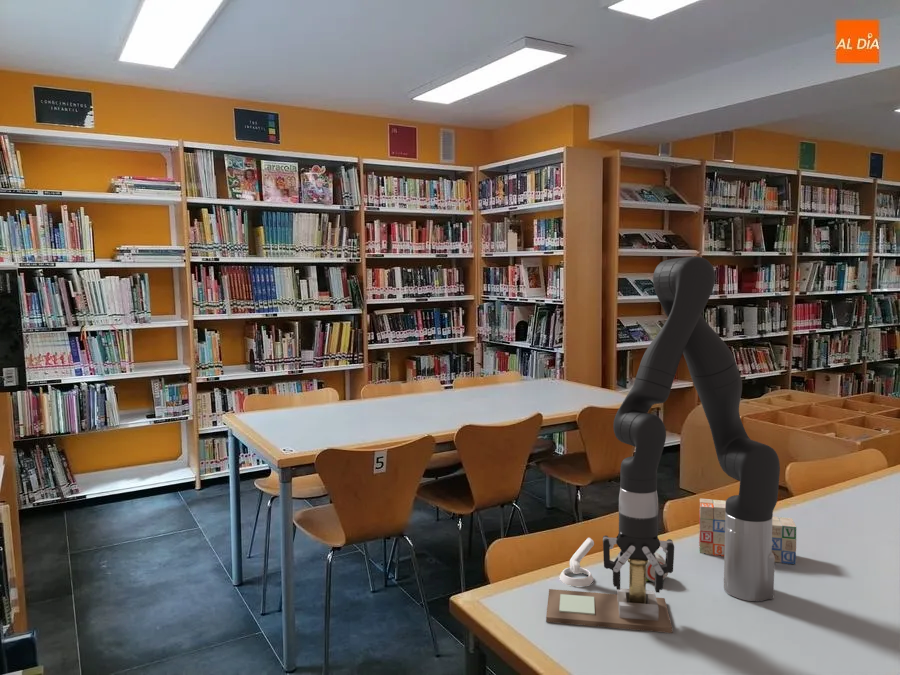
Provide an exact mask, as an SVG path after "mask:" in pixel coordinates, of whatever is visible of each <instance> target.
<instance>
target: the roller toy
mask: <svg viewBox="0 0 900 675" xmlns="http://www.w3.org/2000/svg"><path fill="white" fill-rule="evenodd" d="M654 554H655V556H656V557H657V559H658V561H659V563H660V564H661V565H663V564H665V560H666V559H665V558H664V557H663V556H662V555H661V554H660V553H658V552H657V551H656V552H655V553H654ZM655 571H656V570H655V569H654V567H653V566H652V565H651V563H650V561H649V560H648V564H646V582H648V581H650V582H652V583H655ZM668 575H669V573H665V574H664V575H663V581H664V580H665V579H666V578H667V577H668Z"/></svg>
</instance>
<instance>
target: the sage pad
mask: <svg viewBox="0 0 900 675" xmlns="http://www.w3.org/2000/svg"><path fill="white" fill-rule="evenodd" d="M559 612H567V613H578V614H590V615H595V608H594V597H591V596H578V595H566V594H560V607H559Z"/></svg>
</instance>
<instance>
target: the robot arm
mask: <svg viewBox="0 0 900 675" xmlns="http://www.w3.org/2000/svg"><path fill="white" fill-rule="evenodd" d="M652 282H653V283H652V284H653V287H654V293H655V294H656V297H657V299H658V301H659V303H660V306H661V307H662V309H663V311H664V313H665V315H666V317H667V318H666V320H665V322H664V324H663V326H662V327H661V329H660V330H659V332H658V333H657V334H656V336H655V337H654V338H653V340H651V342H650V344H649V345H648V346H647V348H646V349H645V351H644V354H643V356H642V358H641V360H640V364H639V366H638V370H637V372H636V376H635V379H634V383H633V386H632V388H631V389H630V391H629V392H628V393H627V395H626V396H625V398H624V400H623V401H622V403H621V404H620V406H619V408H618V409H617V412H616V413H615V416H614V419H613V424H612V427H613V432H614V436H615V438H616V439H617V440H618V441H619V442H621V443H623V444H626V445H629V446H631V447H635V450H634V454H633V456H628V457H625V458H624V459H623V460H622V461H621V463H620V475H619V478H620V482H619V484H620V486H619V487H620V488H619V495H618V535H617V536H616V537H609V536H608V535H603V537H602V549H603V550H602V552H603V554H602V555H603V567H604V569H607V570H608V569H609V570H611V571H612V585H613V588H614V587H615V588H616V591H618V590H620V588H621V569H622V567H623V566H624V565H625V564H626V563H627V562H628V561H627V560H628V559H638V560H649V561H650V563H651V565H652V566H653V567H654V569H655V570H656V571H655V582H654V591H655V593H658V594H659V593H660V592H661V591H662V590H663V588H664V580H663V575H664V574H665V573H668V574H672V573H673V572H674V564H675V563H674V560H675V559H674V558H675V544H674V542H673V540H672V539H671V538H670V539H669V538H668V539H667V540H660V539H659V537H658V535H659V534H658V533H659V532H658V531H659V530H658V528H659V526H658V525H659V521H658V520H659V510H660V509H659V497H658V491H657V490H658V468H659V465H660V461H661V458H662V455H663V451H664V447H665V444H666V439H667V430H666V425H665V424H664V421H663V420H662V419H661V418H660V416H658V415H656V414H653V413H649V411H650V410H651V408H652V407H653V406H654V405H657V404H663V403H665V402H666V401H667V400H668V398H669V396H670V393H671V390H672V386H673V384H674V380H675V377H676V373H677V369H678V367H679V364H680V361H681V359H682V356H683V357H684V359H685V362H686V365H687V369H688V372H689V376H690V377H691V380H692V384H693V385H694V388H695V390H696V392H697V396H698V398H699V401H700V404H701V406H702V409H703V413H704V414H705V416H706V419H707V422H708V425H709V429H710V432H711V437H712V440H713V445H714V448H715V453H716V454H715V455H716V458H717V461H718V463H719V465H720V468H721V470H722V471H723V472H724V473H725V474H726V475H727V476H729V477H730V478H732V479H733V480H736V481H738V482H739V487H738V488H739V489H738V490H739V492H738V494H735V495H730V496H729V497H728V498H727V499H726V500H725V501H726V506H725V553H724V556H723V557H724V558H723V560H724V563H723V564H724V565H723V566H724V567H723V589H724V591H725V592H726V593H727V594H728V595H730V596H732V597H734V598H737V599H739V600H744V601H747V602H762V601H766V600H774V596H775V595H774V594H775V592H774V590H775V562H774V560H775V557H774V554H773V553H772V519H773V518H772V517H773V516H774V514H773V513H774V510H775V508H776V506H777V503H778V496H779V485H780V473H781V472H780V471H781V467H780V459H779V455H778V453H777V451H776V450H775V449H774V448H773V447H772V446H769V445H768V444H765V443H762V442H759V441H756V440H753V439H751V438H750V436H748V433H747V432H746V429H745V427H744V424H743V420H742V419H741V415H740V402H741V397H742V392H743V380H742V376H741V373H740V371H739V367H738V364H737V362H736V359H735V356H734V355H733V353H732V351H731V349H730V348H729V346H728V345H727V344H726V342H725V341H724V340H723V339H722V338H721V337H720V336H719V334H718V333H716V331H715V330H714V329H713V328H712V327H711V325H710V324H708V322H707V321H706V320H705V317H704V316H703V314H702V313H703V311H704V309H705V308H706V305H707V304H708V301H709V299H710V298H711V295H712V293H713V290H714V287H715V284H716V283H715V282H716V273H715V269H714V267H713V265H712V264H711V262H710V261H709V260H708V259H706V258H704V257H702V256H686V257H679V258H678V257H677V258H671V259H666V260H662V261H661V262H659V264H657V265H656V267H655V269H654V272H653V277H652ZM615 545H617V547H618V548H619V550H620V551H619V552H618V554H617V556H616V558H615V559H614V561H613V560H612V559H611V554H610V550H612V549H614V546H615ZM659 548H662V551H663V553H665V559H664V560H665V564H663V565H661V564H660V563H659V561H658V559H657V557H656V556H655V554H654V553H655V552H656V553H657V551H658V550H659Z"/></svg>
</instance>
